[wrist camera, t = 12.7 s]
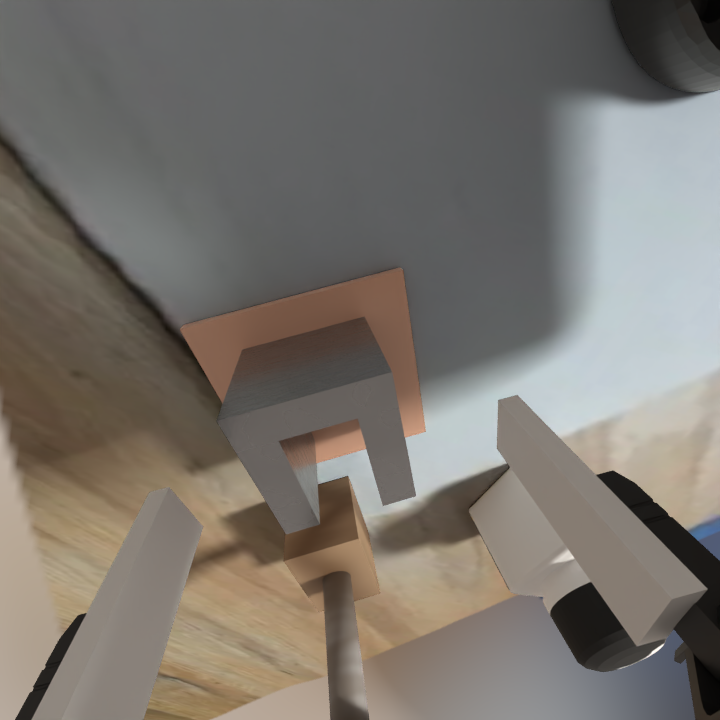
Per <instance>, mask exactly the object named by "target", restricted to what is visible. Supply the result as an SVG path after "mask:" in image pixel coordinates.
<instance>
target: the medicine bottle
mask: <svg viewBox="0 0 720 720" xmlns="http://www.w3.org/2000/svg"><path fill="white" fill-rule="evenodd" d="M469 514H470V516H471V518H472V520H473V522H474V524H475V525H476V527H477V529H478V531H479V533H480V535H481V537H482V539H483V541H484V543H485V545H486V547H487V549H488V550H489V552H490V554H491V556H492V558H493V560H494V562H495V564H496V566H497V568H498V570H499V572H500V574H501V575H502V577H503V579H504V581H505V583H506V585H507V587H508V589H509V590H510V592H511V593H514V594H520V595H529V596H538V597H544V598H543V604H544V605H545V607H546V609H547V611H548V612H549V614H550V616H551V617H552V619H553V621H554V622H555V624H556V626H557V628H558V629H559V631H560V633H561V634H562V636H563V638H564V640H565V641H566V643H567V645H568V646H569V648H570V649H571V652H572V653H573V655H574V657H575V658H576V660H577V662H578V663H579V664H581V665H582V666H584V667H585V668H587V669H591V670H595V671H600V672H607V671H613V670H617V669H620V668H623V667H626V666H629V665H632V664H634V663H636V662H639V661H641V660H643V659H645V658H647V657H648V656H650V655H652V654H654V653H655V652H657V651H658V650H659V649H660V648H661V647H662V646H663V645H664V643H665V640H666V638H665V639H662V640H658V641H655V642H651V643H647V644H644V645H640V646H636V644H635V643H634V642H633V640H632V639H631V637H630V636H629V635H628V633H627V632H626V630H625V629H624V628H623V626H622V625H621V623H620V622H619V620H618V619H617V618H616V616H615V615H614V613H613V612H612V611H611V609H610V608H609V606H608V605H607V603H606V602H605V601H604V599H603V598H602V596H601V595H600V594H599V592H598V591H597V589H596V588H595V586H594V585H593V584H592V582H591V581H590V579H589V578H588V577H587V575H586V574H585V572H584V571H583V570H582V568H581V567H580V565H579V564H578V562H577V561H576V560H575V558H574V557H573V555H572V554H571V553H570V551H569V550H568V548H567V547H566V545H565V544H564V543H563V541H562V540H561V538H560V537H559V536H558V534H557V533H556V531H555V530H554V528H553V527H552V526H551V524H550V523H549V521H548V520H547V519H546V517H545V516H544V514H543V513H542V512H541V510H540V509H539V507H538V506H537V504H536V503H535V502H534V500H533V499H532V497H531V496H530V495H529V493H528V492H527V490H526V489H525V487H524V486H523V485H522V483H521V482H520V480H519V479H518V478H517V476H516V475H515V473H514V472H513V470H512V469H511V468H509V469H508V470H507V471H506V472H505V473H504V474H503V475H502V476H501V477H500V478H499V479H498V480H497V481H496V482H495V483H494V484H493V485H492V486H491V487H490V488H489V489H488V490H487V491H486V492H485V493H484V494H483V495H482V497H481V498H480V499H479V500H478V501H477V502H476V503H475V504H474V505H473V506H472V507H471V508H470V509H469Z"/></svg>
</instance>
